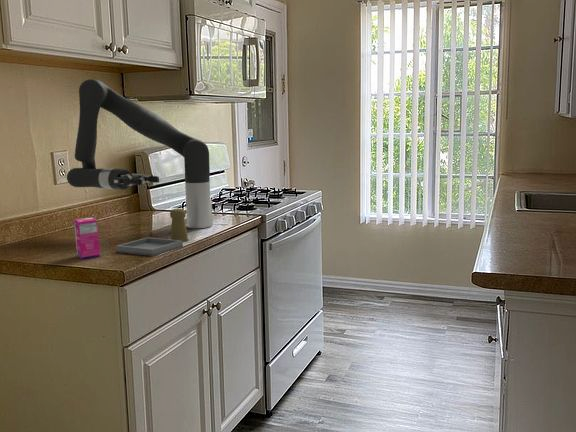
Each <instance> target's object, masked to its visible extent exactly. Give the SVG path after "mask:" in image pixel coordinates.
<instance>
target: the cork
mask: <svg viewBox="0 0 576 432" xmlns="http://www.w3.org/2000/svg"><path fill="white" fill-rule="evenodd" d="M169 216H170V218H171V226H170V227H171V228H170V238H169V239H171V240H181V241H183V243H186V242H188V241H189V237H188V232H187V231H188V230H187V226H186V225H187V224H186V221H185V218H186V216H187V211H186V210H185V209H183V208H173V209H171V210H170V212H169Z"/></svg>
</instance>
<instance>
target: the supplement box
mask: <svg viewBox="0 0 576 432" xmlns="http://www.w3.org/2000/svg"><path fill="white" fill-rule="evenodd" d="M73 224H74V234H75V235H74V236H75V237H74V238H75V245H76V246H75V247H76V255H77V257H78V258H80V259H81V260H87V259H94V258H100V257H101V251H100V250H101V247H100V240H99V227H98V220H97V219H95V218H93V217H87V218H76V219H73ZM93 257H94V258H93ZM86 258H87V259H86Z"/></svg>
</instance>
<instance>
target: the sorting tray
mask: <svg viewBox="0 0 576 432" xmlns="http://www.w3.org/2000/svg"><path fill="white" fill-rule="evenodd" d="M183 243H184V242H183V241H181V240H171V239H170V238H169V239H168V238H158V237H143V238H140V239H136V240H133V241H130V242H125V243H122V244H118V245H116V246H115V248H116V251H115V252H116V253H124V254H131V255H140V256H149V257H154V256H157V255H158V256H159V255H160V254H164V253H166V252H171V251H173V250H176V249H179V248H180V249H181V248H183V247H184V245H183Z"/></svg>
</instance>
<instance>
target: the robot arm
mask: <svg viewBox="0 0 576 432" xmlns="http://www.w3.org/2000/svg"><path fill="white" fill-rule="evenodd" d="M78 96H79V98H78V99H79V117H78V119H79V120H78V128H77V135H76V142H75V148H74V159H75V160H76V161H77V162H81V167H74V168H71V169H70V170H69V171H68V172H67V174H66V181H67V183H68V184H69V185H70V186H71V187H74V188H96V189H97V188H98V189H108V190H115V191H117V190H119V191H125V190H128V189H129V188H130V187H132V186H142V185H144V184H145V183H156V184H157V183H160V177H159V176H158V175H157V176H156V175H153V174H144V173H142V174H141V173H139V174H138V173H131V172H130V171H129V170H128V169H126V168H119V167H117V168H115V167H114V168H111V167H110V168H97V166H96V159H95V157H96V150H97V143H98V142H97V141H98V140H97V139H98V117H99V113H100V109H103V110H105V111H107V112H108V113H110V114H112V115H113V116H115V117H116V118H118V119H119V120H120V121H122V122H123V124H125V125H127V126H128V127H129V128H130V129H132V130H133V131H135V132H136V133H138V134H140V135H142V136H144V137H146V138H148V139H149V140H152V141H154V142H155V143H159V144H161V145H164V146H166V147H168V148H170V149H172V150H173V151H175V152H176V153H178V154H179V155H181V156H182V157H183V159H184V160H183V163H184V183H185V187H184V189H185V203H186V204H185V205H186V206H185V207H186V225H187V226H186V228H189V229H207V228H211V227H212V226H213V222H214V221H213V203H212V200H211V185H210V184H211V182H210V181H211V180H210V176H211V173H210V172H211V171H210V169H211V168H210V150H209V147H208V145H207V143H205V141H202V140H200V139H197V138H195V137H192V136H190V135H188V134H186V133H184V132H183V131H180V130H179V129H177V128H176V127H175V126H174V125H172V124H171V123H170V122H168V121H167V120H166V119H165V118H162V117H161V116H160V115H159V114H157V113H155V112H153V111H152V110H151V109H148V108H147V107H145V106H142V105H140V104H139V103H138V102H135V101H132V100H131V99H128V98H126V97H124V96H122V95H121V94H119V93H118V92H116V91H115V90H113V89H112V88H111V87H109V86H108V85H107V84H106V83H104V82H103V81H101V80H100V79H97V78H89V79H86V80H84V81H82V82H81V84H80V86H79V88H78Z"/></svg>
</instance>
